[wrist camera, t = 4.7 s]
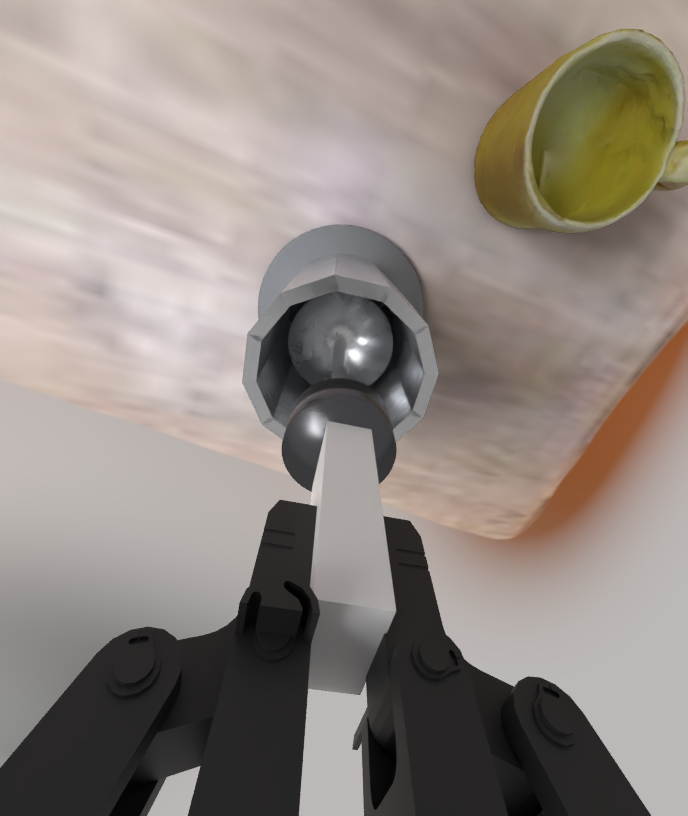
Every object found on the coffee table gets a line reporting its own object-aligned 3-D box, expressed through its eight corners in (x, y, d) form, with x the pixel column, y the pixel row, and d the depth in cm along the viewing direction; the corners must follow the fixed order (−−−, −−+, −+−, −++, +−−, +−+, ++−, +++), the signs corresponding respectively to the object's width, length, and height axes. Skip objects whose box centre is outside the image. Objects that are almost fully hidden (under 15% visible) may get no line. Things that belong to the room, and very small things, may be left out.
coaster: (271, 204, 29) (269, 204, 28) (445, 247, 30) (447, 248, 30) (250, 372, 35) (249, 375, 34) (396, 402, 36) (397, 404, 36)
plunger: (298, 278, 23) (252, 339, 11) (404, 302, 24) (465, 384, 12) (282, 378, 26) (232, 510, 14) (376, 397, 27) (404, 538, 15)
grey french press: (293, 241, 29) (256, 256, 17) (413, 269, 30) (463, 304, 18) (271, 388, 35) (231, 482, 22) (373, 408, 36) (390, 509, 23)
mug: (430, 223, 28) (534, 173, 18) (478, 76, 26) (616, -58, 17) (550, 283, 32) (684, 267, 23) (596, 158, 31) (759, 87, 21)
